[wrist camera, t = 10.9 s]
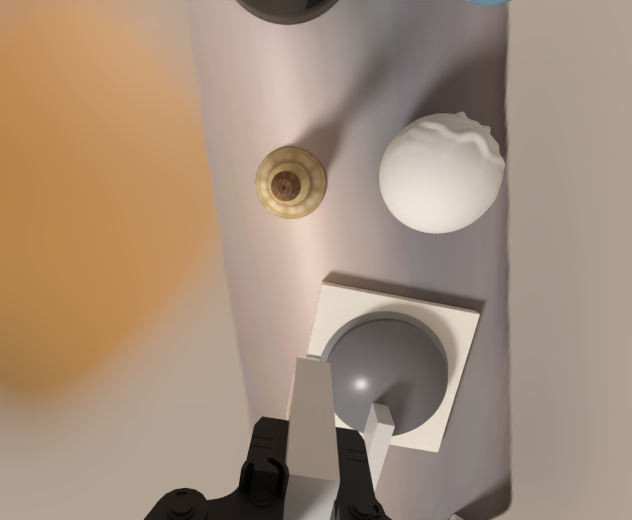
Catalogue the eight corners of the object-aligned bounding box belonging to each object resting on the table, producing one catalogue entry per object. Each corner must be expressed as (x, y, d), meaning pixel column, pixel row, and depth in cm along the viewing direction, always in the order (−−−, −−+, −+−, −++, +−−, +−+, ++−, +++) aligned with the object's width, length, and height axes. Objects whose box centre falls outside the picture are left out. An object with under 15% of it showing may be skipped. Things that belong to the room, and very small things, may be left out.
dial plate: (321, 281, 48) (321, 284, 46) (474, 310, 49) (480, 315, 48) (291, 421, 52) (290, 430, 51) (433, 446, 53) (437, 454, 52)
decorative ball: (491, 152, 45) (554, 144, 33) (438, 242, 47) (480, 263, 36) (403, 103, 44) (436, 76, 32) (353, 197, 46) (368, 205, 34)
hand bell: (316, 139, 45) (318, 118, 29) (333, 208, 46) (344, 224, 31) (247, 157, 45) (213, 147, 29) (267, 226, 47) (245, 250, 31)
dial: (340, 307, 47) (344, 325, 41) (457, 332, 48) (478, 354, 42) (305, 443, 51) (304, 478, 45) (413, 465, 52) (426, 502, 46)
